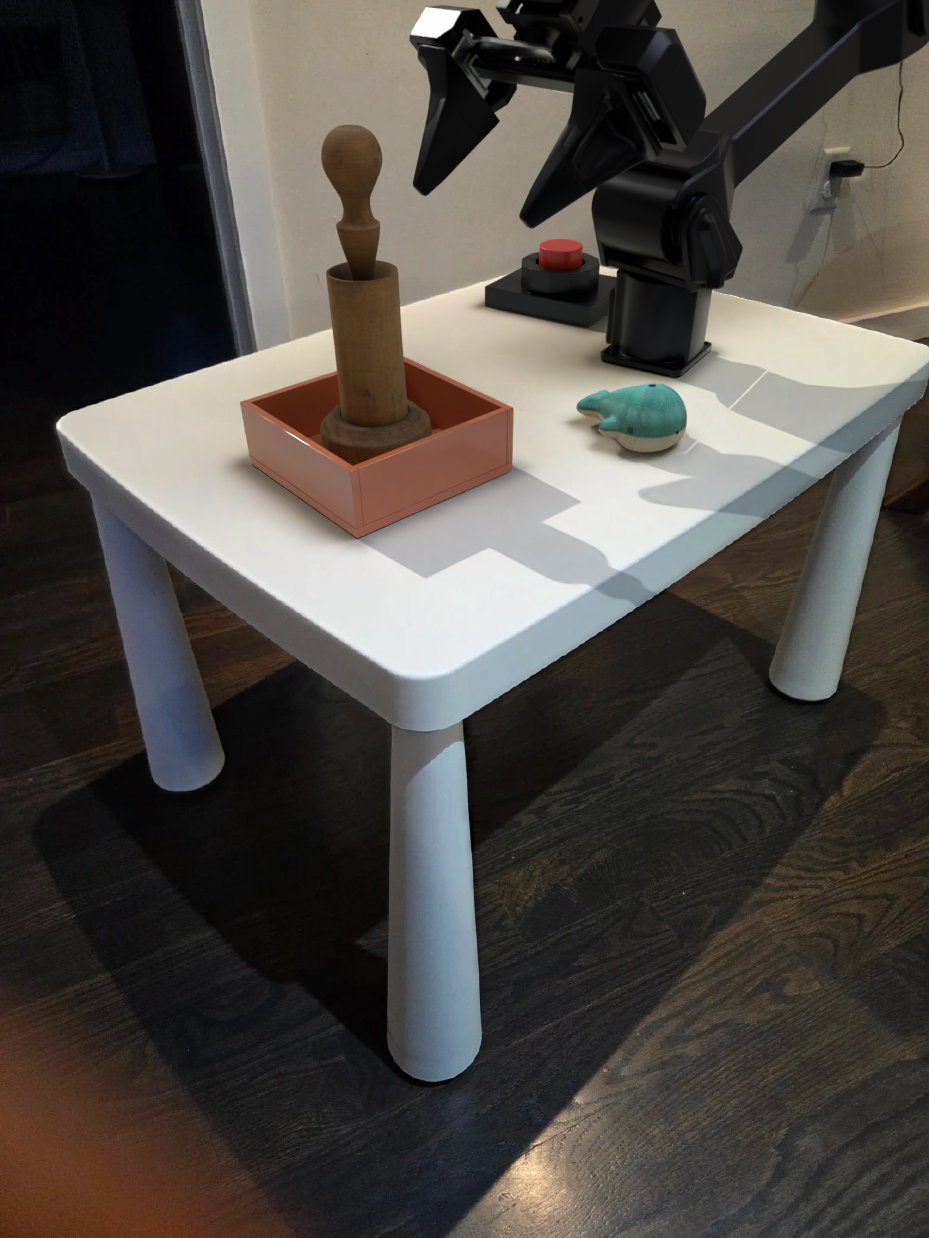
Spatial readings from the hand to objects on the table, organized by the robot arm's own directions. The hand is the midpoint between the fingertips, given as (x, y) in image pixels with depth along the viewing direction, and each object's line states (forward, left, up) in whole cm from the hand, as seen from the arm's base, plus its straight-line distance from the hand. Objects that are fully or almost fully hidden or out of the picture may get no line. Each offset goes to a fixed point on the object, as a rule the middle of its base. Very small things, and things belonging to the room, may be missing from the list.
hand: (468, 206), depth 52 cm
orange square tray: (+2, +7, -14) cm, 16 cm away
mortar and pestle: (+2, +7, -13) cm, 15 cm away
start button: (+7, -24, -11) cm, 27 cm away
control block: (+7, -24, -14) cm, 29 cm away
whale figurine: (-9, -5, -14) cm, 17 cm away
